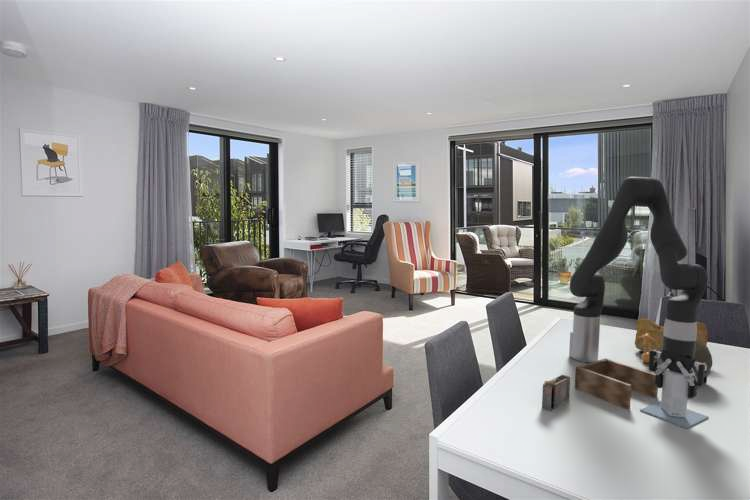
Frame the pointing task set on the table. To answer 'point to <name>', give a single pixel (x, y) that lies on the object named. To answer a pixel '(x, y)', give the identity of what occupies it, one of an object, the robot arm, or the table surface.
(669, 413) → the skincare box
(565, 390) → the brown upright block
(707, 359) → the brown rock
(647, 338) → the figurine
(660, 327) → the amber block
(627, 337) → the table surface
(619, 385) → the open side box
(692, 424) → the mat
